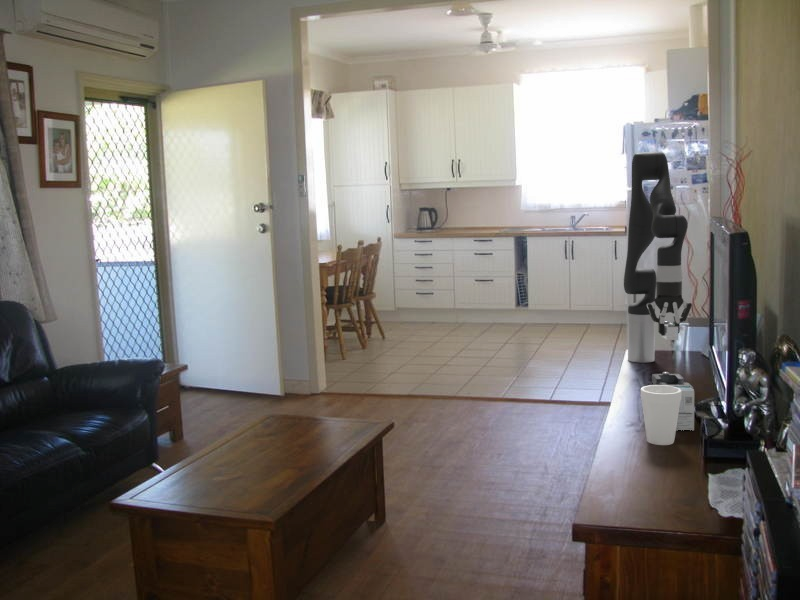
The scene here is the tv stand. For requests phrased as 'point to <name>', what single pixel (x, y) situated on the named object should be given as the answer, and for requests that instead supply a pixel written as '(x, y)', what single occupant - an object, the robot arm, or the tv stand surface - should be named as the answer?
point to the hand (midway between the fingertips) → (668, 334)
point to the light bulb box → (685, 408)
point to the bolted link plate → (670, 331)
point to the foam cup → (660, 412)
